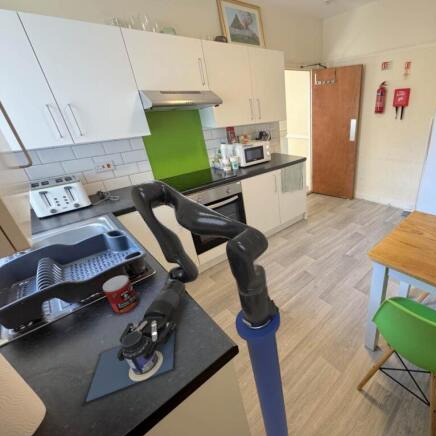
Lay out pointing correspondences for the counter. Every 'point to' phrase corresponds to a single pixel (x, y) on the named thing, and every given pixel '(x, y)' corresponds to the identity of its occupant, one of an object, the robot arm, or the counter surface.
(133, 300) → the canned food
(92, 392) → the placemat
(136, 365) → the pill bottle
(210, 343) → the counter surface
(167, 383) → the counter surface
